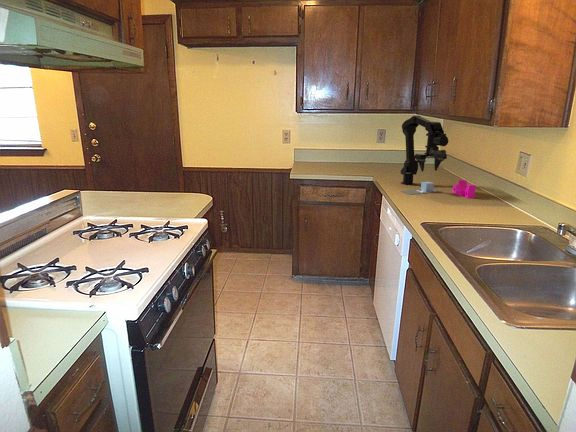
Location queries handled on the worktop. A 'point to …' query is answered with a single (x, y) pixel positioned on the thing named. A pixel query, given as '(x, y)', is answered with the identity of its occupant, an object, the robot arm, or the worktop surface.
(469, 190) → the toy block
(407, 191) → the letter mat
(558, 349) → the worktop surface
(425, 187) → the slate blue cube
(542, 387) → the worktop surface
